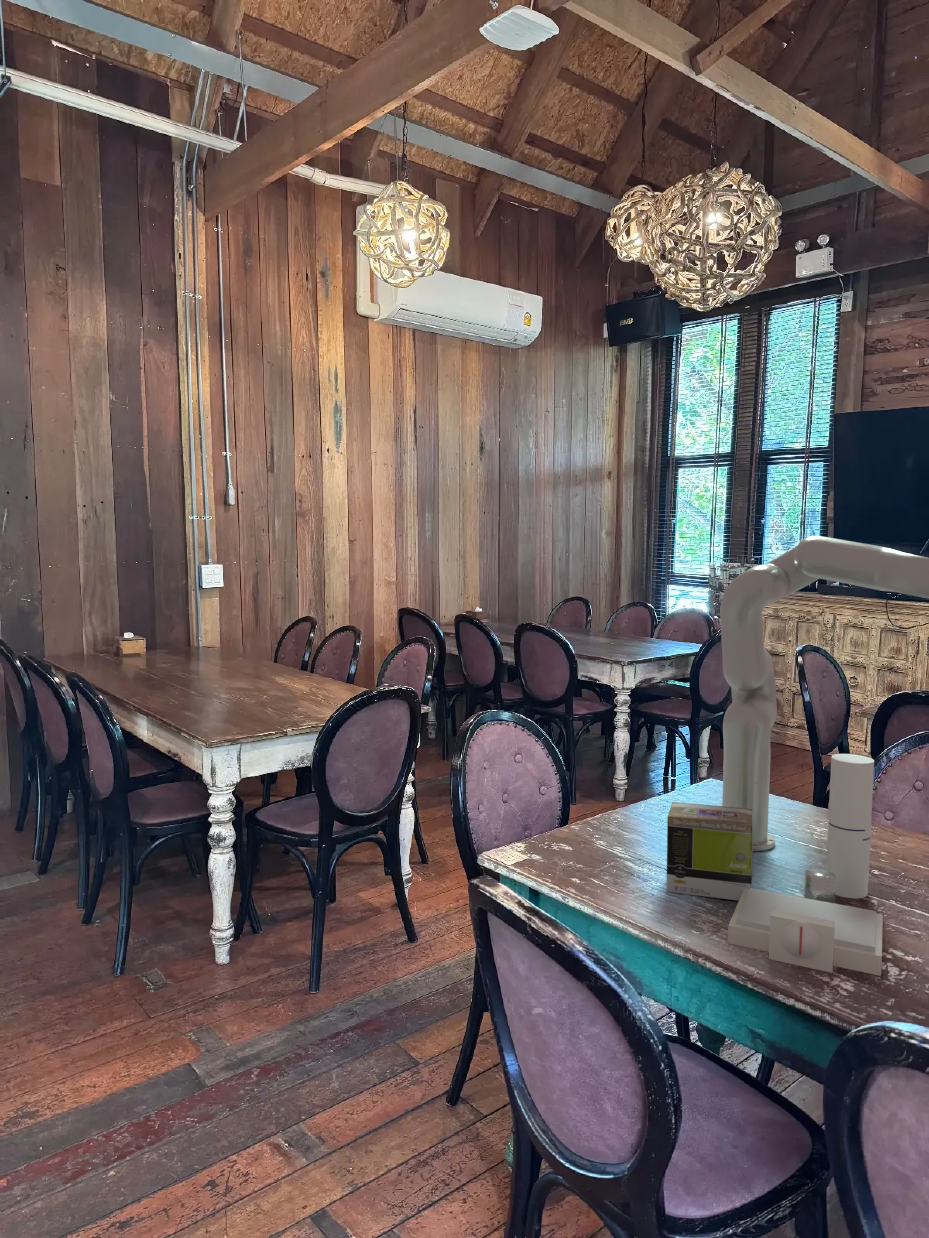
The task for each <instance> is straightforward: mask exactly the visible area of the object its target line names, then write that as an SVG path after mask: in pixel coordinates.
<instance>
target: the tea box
mask: <svg viewBox="0 0 929 1238" xmlns="http://www.w3.org/2000/svg"><path fill="white" fill-rule="evenodd" d="M667 814H668V815H667V822H666V823H667V824H666V825H667V826H666V829H667V831H666V832H667V833H666V835H667V836H666V838H667V839H666V892H668V893H674V894H675V893H676V894H682V895H689V896H690V895H691V896H699V897H707V898H712V899H713V898H714V899H722V900H723V899H724V900H730V901H738V902H739V900H740V897H741V895H742V893H743V891H744V889H746V890H749V888H752V880H753V851H752V809H748V808H736V807H725V806H722V805H711V804H699V803H688V802H678V801H677V802H676V801H672V802H671V805H670V808H669V812H668V813H667Z"/></svg>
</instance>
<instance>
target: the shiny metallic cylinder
mask: <svg viewBox="0 0 929 1238" xmlns="http://www.w3.org/2000/svg"><path fill="white" fill-rule="evenodd" d="M835 887H836V875H835V874H834V873H833V872H830V871H828V870H826V869H823V868H814V867H813V868H808V869H806V870H805V872H804V891H803V892H804V893H803V898H807V899H813V900H818V901H823V902H829V903H834V904H836V895H835Z"/></svg>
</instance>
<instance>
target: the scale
mask: <svg viewBox="0 0 929 1238" xmlns="http://www.w3.org/2000/svg"><path fill="white" fill-rule="evenodd" d="M883 920H884V919H883V914H881V913H877V911H876V910H872V909H865V908H861V907H855V906H852V905H851V906H850V905H844V904H838V903H835V904H834V903H829V902H823V901H818V900H813V899H807V898H804V897H801V896H795V895H790V894H789V895H788V894H786V893H785V894H784V893H779V892H774V891H773V892H772V891H768V890H764V889H757V888H752V887H751V888H749V890H746V889H744V891H743V893H742V895H741V897H740V900H739V901H738V902H737V904H736V907H735V909H734V912H733V914H732V917H731V919H730V920H729V924H728V930H727V931H728V932H727V944H731V945H734V946H738V947H739V946H740V947H743V948H744V947H745V948H748V949H753V950H758V951H764V952H768V960H773V961H776V962H780V963H785V964H789V965H794V966H799V967H803V968H808V969H812V970H818V971H822V972H827V973H831V974H833V971H834V970H833V969H834V967H837V968H842V969H847V970H850V971H855V972H856V971H857V972H859V973H860V972H861V973H865V974H870V975H875V976H879V977H882V962H883V961H882V960H883Z"/></svg>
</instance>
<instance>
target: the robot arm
mask: <svg viewBox="0 0 929 1238" xmlns="http://www.w3.org/2000/svg"><path fill="white" fill-rule="evenodd" d="M820 579H821V580H825V581H831V582H836V583H842V584H846V585H847V584H848V585H853V586H857V587H861V588H866V589H871V590H875V591H882V592H892V593H899V594H904V595H909V596H913V597H919V598H923V599H929V557H926V556H921V555H916V554H912V553H907V552H903V551H900V550H896V549H894V548H892V547H891V548H890V547H886V546H880V545H876V544H875V545H874V544H869V543H864V542H863V543H862V542H856V541H851V540H846V539H840V538H833V537H829V536H828V537H827V536H822V535H810V536H806V537H805V538H803V539H802V540H800V541H799V542H798V544H797V545H796V546H795V547H793V548H792V549H790V550H788V551H786V552H784V553H783V554H781V555H779V556H778V557H776V558H774V559H772V560H770V561H768V562H766V563H765V564H759V565H755V566H753V567H751V568H748V569H746V570H745V571H743V572H741V574H739V575H738V576H736V577H735V578H734V579H733V580H732V581H730V582H729V584H728V585H727V587H726V589H725V590H724V592H723V595H722V598H721V603H720V611H719V613H720V617H719V618H720V630H721V631H720V632H721V633H720V634H721V636H720V637H721V638H720V639H721V641H720V642H721V650H722V652H721V653H722V654H721V655H722V674H723V676H724V677H723V678H724V679H725V681H726V683H727V684H728V685H729V686H730V689H731V690H730V691H731V692H730V693H731V703H730V704H729V705H728V707H727V709H726V711H725V713H724V716H723V721H722V736H723V737H722V738H723V764H722V765H723V766H722V767H723V768H722V769H723V774H722V799H721V800H722V802H721V803H722V805H721V806H725V807H736V808H748V809H752V852H762V851H763V852H764V851H767V850H771V849H773V848H774V846H775V845H776V839H775V837H774V836H772V834H770V833H769V832H768V830H769V828H768V827H769V808H770V807H769V806H770V805H769V803H770V783H771V781H770V779H771V776H770V775H771V734H772V733H771V732H772V727H773V726H774V724H775V722H776V720H777V716H778V707H777V706H778V705H777V693H776V692H777V691H776V679H775V668H774V667H775V666H774V662H773V658H772V656H771V654H770V652H769V651H768V650H767V649H766V648H765V644H764V628H763V627H764V626H763V620H762V613H763V611H764V608H765V607H766V606H769V605H772V604H775V603H777V602H780V601H781V600H783V599H784V598H787V597H788V596H790V595H792V594H794V593H796V592H799V591H800V590H801V589H803V588H805V587H807V586H809V585H811V584H813V583H814V582H816V581H818V580H820Z"/></svg>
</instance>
